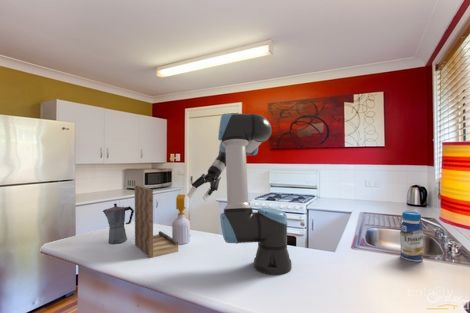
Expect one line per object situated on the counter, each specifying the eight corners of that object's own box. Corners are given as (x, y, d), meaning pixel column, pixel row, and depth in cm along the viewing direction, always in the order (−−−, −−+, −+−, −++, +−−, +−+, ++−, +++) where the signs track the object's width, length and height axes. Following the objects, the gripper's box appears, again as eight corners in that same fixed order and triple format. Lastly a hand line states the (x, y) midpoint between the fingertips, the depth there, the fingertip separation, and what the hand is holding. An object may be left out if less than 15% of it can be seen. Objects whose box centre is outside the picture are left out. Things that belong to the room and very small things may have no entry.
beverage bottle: (418, 255, 119) (418, 211, 119) (426, 263, 111) (426, 215, 111) (397, 254, 122) (397, 210, 121) (403, 261, 113) (403, 214, 113)
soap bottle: (191, 238, 144) (190, 193, 144) (188, 244, 135) (188, 196, 135) (174, 239, 144) (174, 193, 144) (170, 244, 135) (170, 196, 135)
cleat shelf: (178, 251, 126) (178, 187, 125) (149, 258, 118) (149, 190, 117) (160, 239, 143) (160, 183, 143) (134, 244, 135) (134, 185, 135)
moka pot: (104, 239, 143) (103, 202, 143) (134, 237, 148) (134, 201, 148) (100, 245, 134) (100, 205, 134) (133, 242, 139) (133, 204, 139)
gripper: (234, 174, 151) (215, 204, 140) (205, 172, 168) (186, 199, 157) (228, 165, 147) (207, 196, 136) (199, 164, 164) (178, 191, 153)
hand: (196, 197), depth 147 cm, fingers open, 13 cm apart
